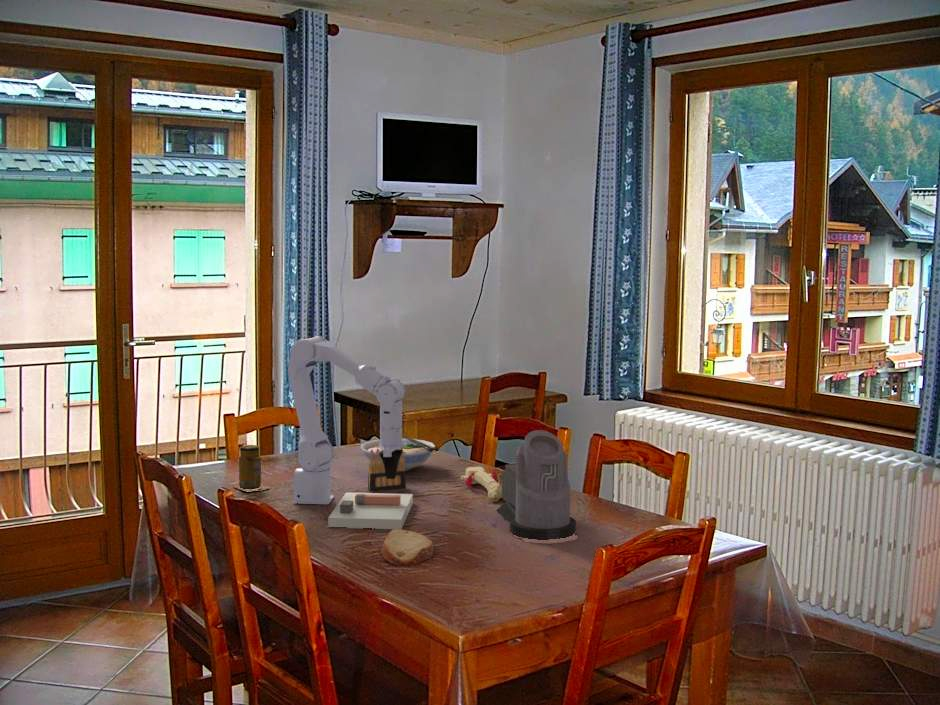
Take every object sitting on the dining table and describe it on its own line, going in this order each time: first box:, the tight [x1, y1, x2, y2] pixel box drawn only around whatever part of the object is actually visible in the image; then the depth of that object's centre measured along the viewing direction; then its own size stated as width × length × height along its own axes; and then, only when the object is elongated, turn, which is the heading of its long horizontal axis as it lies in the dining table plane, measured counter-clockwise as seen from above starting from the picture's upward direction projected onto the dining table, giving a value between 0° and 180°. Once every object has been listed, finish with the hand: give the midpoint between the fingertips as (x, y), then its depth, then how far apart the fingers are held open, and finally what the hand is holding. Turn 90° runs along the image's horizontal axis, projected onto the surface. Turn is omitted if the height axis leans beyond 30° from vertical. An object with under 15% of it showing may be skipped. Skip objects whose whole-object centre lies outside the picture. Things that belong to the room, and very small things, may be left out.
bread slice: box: [380, 529, 434, 567], centre depth 229 cm, size 18×18×4 cm
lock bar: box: [355, 494, 401, 505], centre depth 258 cm, size 12×3×2 cm, turn 87°
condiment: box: [238, 444, 262, 489], centre depth 282 cm, size 7×8×12 cm
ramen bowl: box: [360, 435, 439, 472], centre depth 307 cm, size 25×23×8 cm
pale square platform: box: [327, 492, 414, 530], centre depth 257 cm, size 18×24×5 cm
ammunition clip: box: [367, 448, 406, 492], centre depth 283 cm, size 11×2×12 cm, turn 114°
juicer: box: [495, 429, 577, 540], centre depth 248 cm, size 30×16×24 cm, turn 15°
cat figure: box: [460, 466, 507, 503], centre depth 282 cm, size 10×9×25 cm
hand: (391, 478), depth 262 cm, fingers closed
